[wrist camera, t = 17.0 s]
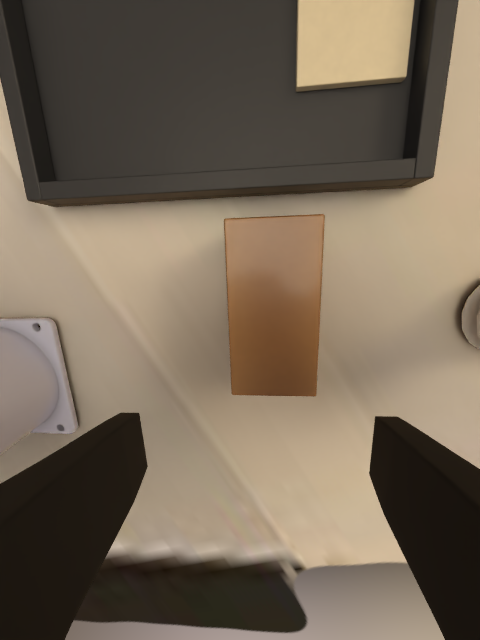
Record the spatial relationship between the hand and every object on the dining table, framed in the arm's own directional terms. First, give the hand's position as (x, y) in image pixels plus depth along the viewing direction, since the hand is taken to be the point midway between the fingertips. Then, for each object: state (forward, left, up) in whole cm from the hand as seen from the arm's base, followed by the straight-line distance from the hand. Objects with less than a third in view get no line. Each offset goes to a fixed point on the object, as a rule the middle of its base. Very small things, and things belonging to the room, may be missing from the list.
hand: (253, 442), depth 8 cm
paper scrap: (+4, +15, -7) cm, 17 cm away
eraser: (+1, +3, -8) cm, 8 cm away
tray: (-2, +15, -8) cm, 17 cm away
